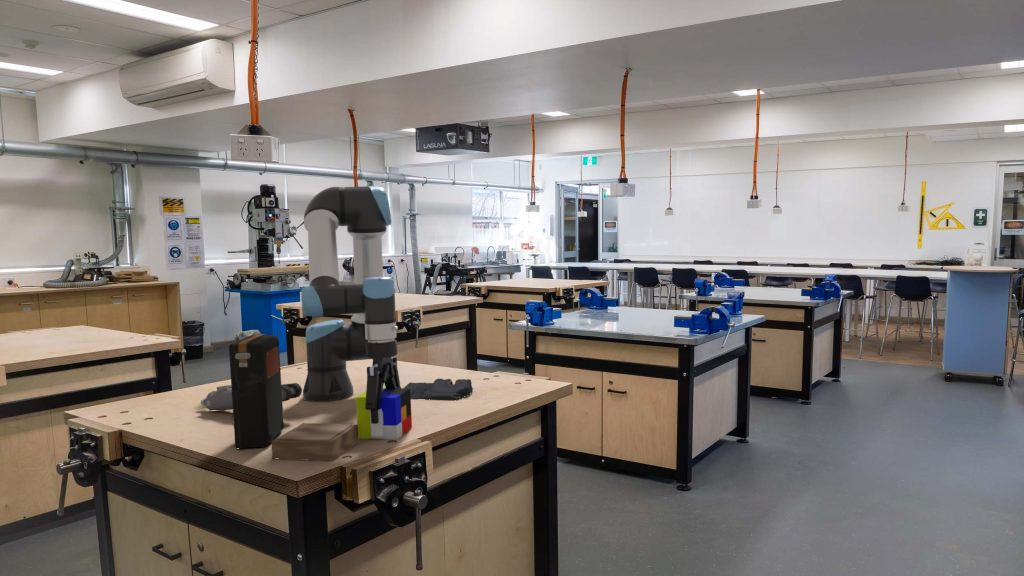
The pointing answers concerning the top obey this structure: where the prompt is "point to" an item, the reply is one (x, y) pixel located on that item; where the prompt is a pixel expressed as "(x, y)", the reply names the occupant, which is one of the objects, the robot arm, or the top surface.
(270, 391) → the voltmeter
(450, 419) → the top surface
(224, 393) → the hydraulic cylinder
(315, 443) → the plinth
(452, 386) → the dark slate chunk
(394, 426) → the puzzle toy
